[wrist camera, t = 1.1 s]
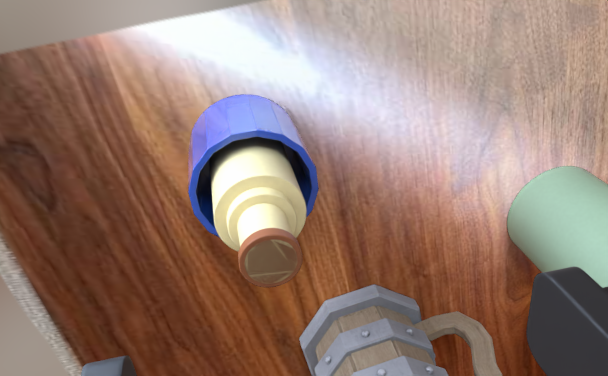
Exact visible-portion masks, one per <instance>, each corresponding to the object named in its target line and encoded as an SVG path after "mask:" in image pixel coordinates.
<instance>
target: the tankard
mask: <svg viewBox="0 0 608 376" xmlns="http://www.w3.org/2000/svg"><path fill="white" fill-rule="evenodd" d="M446 334H457V335H458V336H460V337H462V338H463V339H465V341H466V342H467V344H468V345H469V347H470V348H471V352H472V360H473V368H474V375H475V376H503V375H502V374H501V372H500V370H499V368H498V366H497V364H496V359H495V353H494V347H493V341H492V337H491V336H490V335H489V334H488V332H487V331H486V330H485V328H484V327H483V326H482V324H481V323H480V322H478V321H476V320H474V319H472V318H470V317H468V316H466V315H464V314H462V313H460V312H458V311H457V312H452V313H447V314H442V315H437V316H433V317H431V318H428V319H426V320H423V321H422V320H421V314H420V309H419V307H418V305H417V303H416V301H415V300H414V299H412V298H409V297H406V296H404V295H401V294H398V293H396V292H393V291H391V290H388V289H385V288H383V287H380V286H377V285H375V284H374V285H371V286H368V287H365V288H362V289H359V290H356V291H353V292H350V293H347V294H344V295H341V296H338V297H335V298H332V299H329V300H326V301H325V302H324V303H323V304H322V306H321V307H320V309H319V310H318V312H317V313H316V315H315V316H314V318H313V319H312V320H311V322H310V323H309V325H308V326H307V328H306V329H305V331H304V332H303V334H302V335H301V336H300V338H299V339H300V343H301V347H302V350H303V353H304V356H305V358H306V361H307V364H308V366H309V369H310V372H311V375H312V376H448V374H447V372H446V370H445V369H444V368H441V367H438V366H436V363H435V354H434V352H433V347H432V345H431V343H430V341H432V340H434V339H436V338H438V337H440V336H442V335H446Z"/></svg>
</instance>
